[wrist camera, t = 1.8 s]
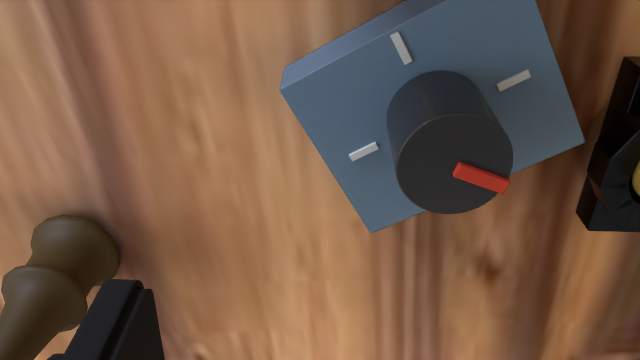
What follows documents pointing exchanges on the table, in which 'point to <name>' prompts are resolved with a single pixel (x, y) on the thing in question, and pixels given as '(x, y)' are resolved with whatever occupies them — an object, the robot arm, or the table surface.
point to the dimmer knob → (447, 144)
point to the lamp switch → (636, 178)
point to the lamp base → (615, 160)
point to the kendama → (54, 284)
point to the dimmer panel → (418, 58)
